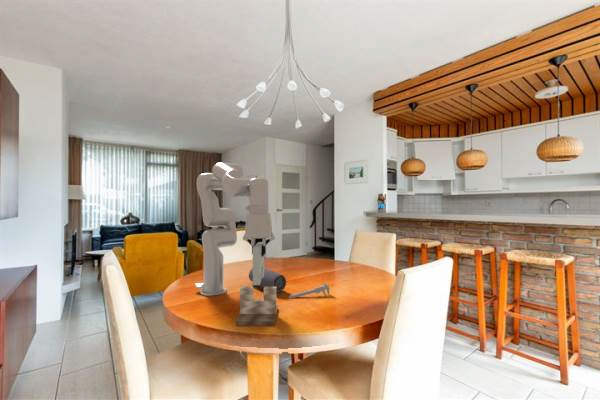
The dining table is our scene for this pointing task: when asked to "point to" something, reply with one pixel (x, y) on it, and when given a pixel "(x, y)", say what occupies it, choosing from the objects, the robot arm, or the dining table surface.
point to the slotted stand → (257, 307)
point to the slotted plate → (258, 264)
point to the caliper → (312, 291)
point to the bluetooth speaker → (271, 280)
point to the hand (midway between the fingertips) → (258, 255)
